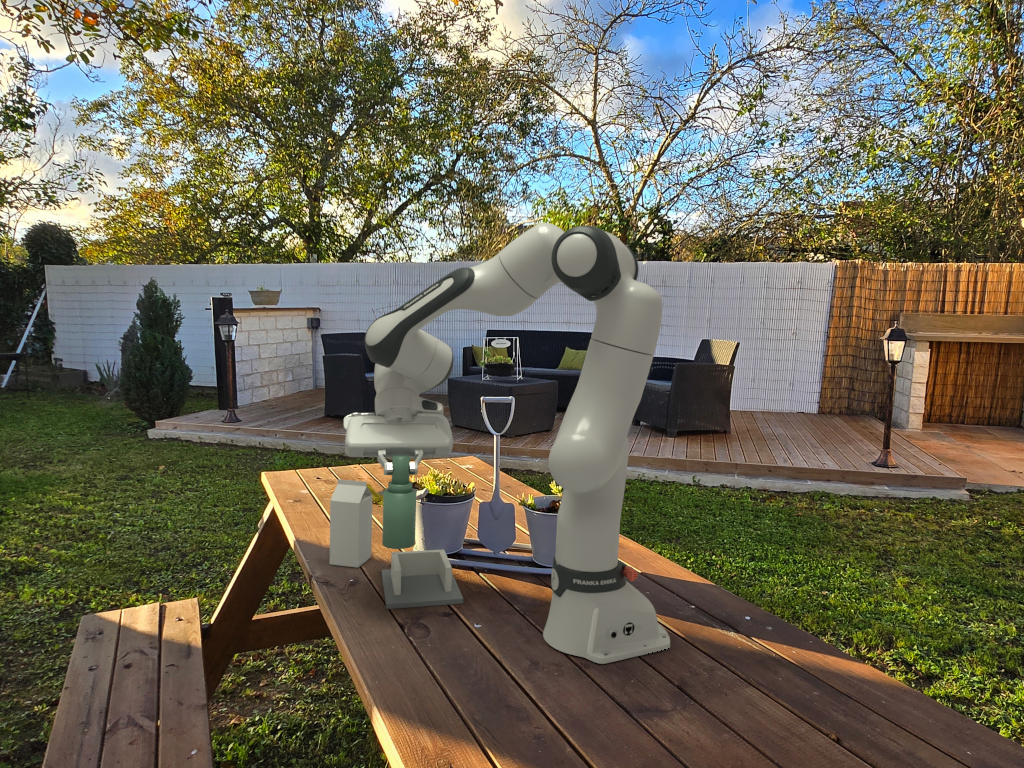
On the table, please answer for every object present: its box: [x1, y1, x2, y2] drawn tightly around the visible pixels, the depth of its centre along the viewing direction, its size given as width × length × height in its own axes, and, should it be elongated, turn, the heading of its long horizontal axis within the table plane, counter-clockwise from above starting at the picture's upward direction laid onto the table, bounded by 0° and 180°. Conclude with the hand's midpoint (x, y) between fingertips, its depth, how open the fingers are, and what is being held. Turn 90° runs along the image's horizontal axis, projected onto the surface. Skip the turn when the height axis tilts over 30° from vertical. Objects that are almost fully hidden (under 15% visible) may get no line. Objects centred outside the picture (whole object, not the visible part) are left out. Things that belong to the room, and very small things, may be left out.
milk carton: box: [329, 478, 373, 568], centre depth 147 cm, size 7×7×19 cm
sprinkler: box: [367, 483, 387, 506], centre depth 197 cm, size 19×4×15 cm
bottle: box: [381, 454, 417, 550], centre depth 118 cm, size 6×6×16 cm
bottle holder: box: [381, 549, 464, 610], centre depth 134 cm, size 15×18×6 cm
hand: (401, 473), depth 117 cm, fingers closed on bottle, 3 cm apart
